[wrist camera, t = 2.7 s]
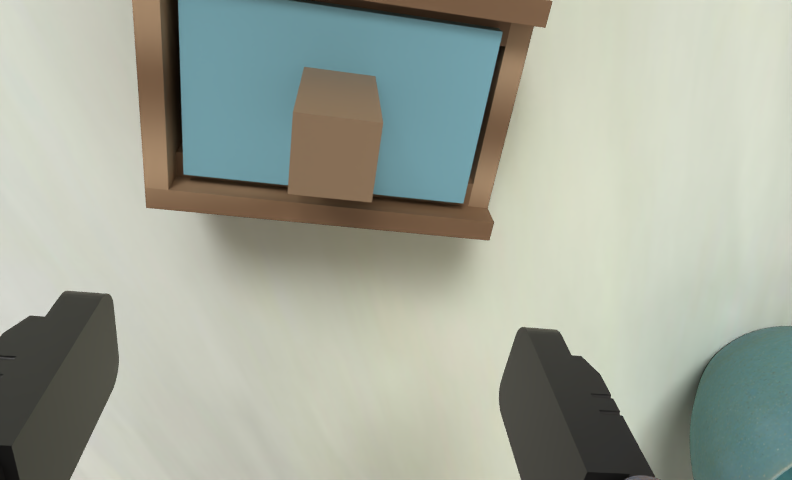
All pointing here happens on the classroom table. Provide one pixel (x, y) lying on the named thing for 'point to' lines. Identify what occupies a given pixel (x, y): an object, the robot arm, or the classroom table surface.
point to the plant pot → (745, 410)
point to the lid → (332, 97)
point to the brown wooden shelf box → (172, 190)
